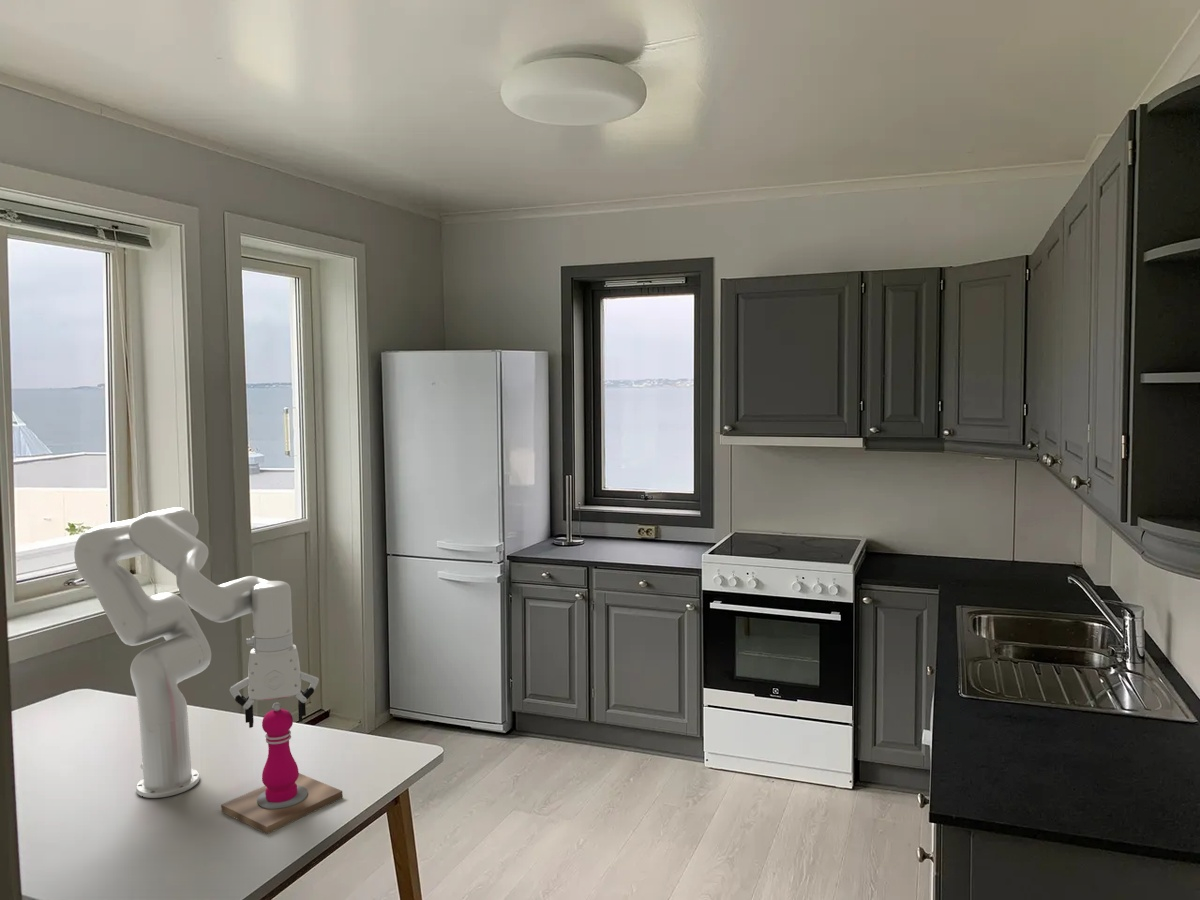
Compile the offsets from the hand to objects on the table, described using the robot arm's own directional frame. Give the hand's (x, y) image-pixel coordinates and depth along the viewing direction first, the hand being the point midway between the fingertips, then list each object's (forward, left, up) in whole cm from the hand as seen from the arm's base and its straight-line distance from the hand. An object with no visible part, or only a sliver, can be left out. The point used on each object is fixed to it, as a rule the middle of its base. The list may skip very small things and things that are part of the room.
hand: (276, 722), depth 187 cm
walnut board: (+1, 0, -18) cm, 18 cm away
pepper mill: (0, 0, -16) cm, 16 cm away
